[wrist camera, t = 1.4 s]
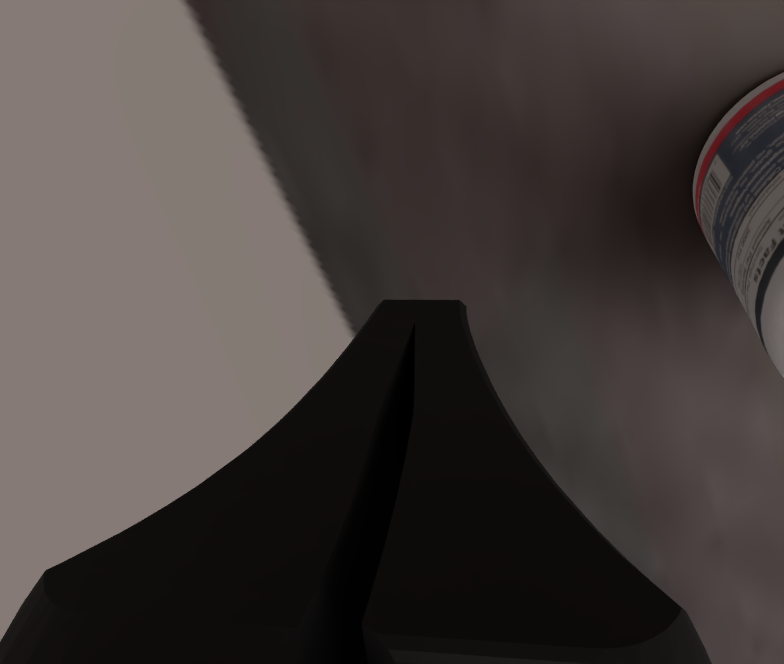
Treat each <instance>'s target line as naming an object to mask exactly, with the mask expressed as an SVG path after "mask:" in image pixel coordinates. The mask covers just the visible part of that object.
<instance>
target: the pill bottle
mask: <svg viewBox="0 0 784 664" xmlns="http://www.w3.org/2000/svg"><path fill="white" fill-rule="evenodd" d="M693 203H694V209H695V213H696V217H697V220H698V222H699V225H700V227H701V229H702V232H703V234H704V236H705V238H706V240H707V242H708V243H709V245H710V247H711V249H712V251H713V252H714V254H715V256H716V258H717V260H718V262H719V263H720V265H721V267H722V269H723V271H724V272H725V274H726V276H727V278H728V280H729V281H730V283H731V285H732V287H733V289H734V291H735V293H736V294H737V296H738V298H739V300H740V302H741V304H742V305H743V307H744V309H745V311H746V313H747V315H748V317H749V319H750V321H751V322H752V325H753V327H754V328H755V330H756V332H757V334H758V336H759V338H760V340H761V342H762V344H763V346H764V348H765V350H766V352H767V353H768V355H769V357H770V358H771V360H772V362H773V363H774V365H775V366H776V368H777V370H778V371H779V372H780V374H781V375H782V377H783V378H784V72H783V73H781V74H779V75H777V76H775V77H773V78H771V79H769V80H767V81H766V82H764V83H763V84H761V85H760V86H758V87H757V88H755V89H754V90H752V91H751V92H750V93H748V94H747V95H746V96H745V97H743V98H742V99H741V100H740V101H739V102H738V103H737V104H736V105H735V106H733V107H732V108H731V109H730V110H729V112H728V113H727V114H726V115H725V116H724V117H723V118H722V120H721V121H720V122H719V123H718V125H717V126H716V127H715V129H714V130H713V132H712V133H711V135H710V136H709V138H708V140H707V142H706V143H705V145H704V147H703V150H702V152H701V154H700V157H699V159H698V163H697V166H696V170H695V175H694V181H693Z"/></svg>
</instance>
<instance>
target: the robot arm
mask: <svg viewBox="0 0 784 664" xmlns="http://www.w3.org/2000/svg"><path fill="white" fill-rule="evenodd" d="M0 664H712V663H711V661H710V659H709V656H708V654H707V652H706V650H705V647H704V645H703V643H702V641H701V640H700V638H699V636H698V634H697V632H696V630H695V628H694V626H693V624H692V622H691V620H690V618H689V616H688V614H687V612H686V611H685V610H684V609H683V608H681V607H680V606H679V605H678V604H677V603H676V602H674V601H673V600H672V599H671V598H670V597H669V596H667V595H666V594H665V593H664V592H663V591H662V590H660V589H659V588H658V587H657V586H656V585H655V584H653V583H652V582H651V581H650V580H649V579H648V578H647V577H646V576H645V575H643V574H642V573H641V572H640V571H639V570H638V569H637V568H636V567H635V566H634V565H632V564H631V563H630V562H629V561H628V560H627V559H626V558H625V557H624V556H623V555H622V554H621V553H620V552H619V551H618V550H617V549H616V548H615V547H614V546H613V545H612V544H611V543H610V542H609V541H608V540H607V539H606V538H605V537H604V536H603V535H602V534H601V533H600V532H599V531H598V530H597V529H596V528H595V527H594V526H593V524H592V523H591V522H590V521H589V520H588V519H587V518H586V517H585V515H584V514H583V513H582V512H581V511H580V510H579V509H578V508H577V506H576V505H575V504H574V503H573V502H572V501H571V500H570V498H569V497H568V496H567V495H566V494H565V493H564V492H563V491H562V489H561V488H560V487H559V486H558V485H557V484H556V482H555V481H554V480H553V478H552V477H551V476H550V475H549V473H548V472H547V471H546V469H545V468H544V467H543V465H542V464H541V463H540V461H539V460H538V459H537V457H536V456H535V455H534V453H533V452H532V450H531V449H530V447H529V446H528V445H527V443H526V442H525V440H524V439H523V437H522V436H521V434H520V433H519V431H518V429H517V428H516V426H515V425H514V423H513V421H512V420H511V418H510V416H509V415H508V413H507V411H506V409H505V408H504V406H503V404H502V402H501V401H500V399H499V397H498V395H497V393H496V391H495V389H494V387H493V385H492V383H491V381H490V379H489V377H488V375H487V373H486V370H485V368H484V366H483V364H482V362H481V360H480V357H479V355H478V352H477V350H476V347H475V344H474V341H473V338H472V335H471V332H470V329H469V325H468V320H467V314H466V306H465V305H464V304H463V303H462V302H461V301H460V300H383V301H382V302H381V303H380V304H379V305H378V306H377V307H376V309H375V310H374V312H373V313H372V315H371V316H370V317H369V319H368V320H367V322H366V323H365V324H364V326H363V327H362V328H361V330H360V331H359V333H358V334H357V335H356V336H355V338H354V339H353V340H352V342H351V343H350V344H349V346H348V347H347V348H346V349H345V350H344V352H343V353H342V354H341V355H340V356H339V358H338V359H337V360H336V361H335V362H334V364H333V365H332V366H331V367H330V369H329V370H328V371H327V372H326V373H325V374H324V376H323V377H322V378H321V379H320V380H319V381H318V382H317V383H316V384H315V385H314V386H313V387H312V388H311V389H310V390H309V392H308V393H307V394H306V395H305V396H304V397H303V398H302V399H301V400H300V401H299V402H298V403H297V404H296V405H295V406H294V408H292V409H291V410H290V411H289V412H288V413H287V414H286V415H285V416H284V417H283V418H282V419H281V420H280V421H279V422H278V423H277V424H276V425H275V426H273V427H272V428H271V429H270V430H269V431H268V432H267V433H266V434H264V435H263V436H262V437H261V438H260V439H259V440H257V441H256V442H255V443H254V444H253V445H252V446H250V447H249V448H248V449H247V450H245V451H244V452H243V453H242V454H240V455H239V456H238V457H236V458H235V459H234V460H232V461H231V462H230V463H228V464H227V465H225V466H224V467H223V468H221V469H220V470H219V471H217V472H216V473H215V474H213V475H212V476H211V477H209V478H208V479H206V480H205V481H204V482H202V483H201V484H199V485H198V486H196V487H195V488H193V489H192V490H190V491H189V492H187V493H186V494H184V495H183V496H181V497H179V498H178V499H176V500H175V501H173V502H172V503H170V504H169V505H167V506H165V507H164V508H162V509H160V510H158V511H157V512H155V513H153V514H152V515H150V516H149V517H147V518H145V519H144V520H142V521H140V522H138V523H137V524H135V525H133V526H131V527H130V528H128V529H126V530H124V531H122V532H121V533H119V534H117V535H115V536H113V537H111V538H109V539H107V540H105V541H103V542H101V543H99V544H97V545H95V546H94V547H91V548H89V549H88V550H86V551H84V552H82V553H80V554H78V555H76V556H74V557H72V558H70V559H68V560H66V561H64V562H62V563H60V564H58V565H56V566H54V567H52V568H50V569H48V570H46V571H45V572H44V573H43V575H42V576H41V578H40V579H39V581H38V582H37V584H36V585H35V586H34V588H33V589H32V591H31V592H30V594H29V595H28V597H27V598H26V599H25V601H24V603H23V604H22V605H21V607H20V609H19V611H18V612H17V614H16V616H15V618H14V619H13V621H12V623H11V624H10V626H9V628H8V629H7V631H6V633H5V635H4V636H3V638H2V640H1V641H0Z"/></svg>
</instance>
